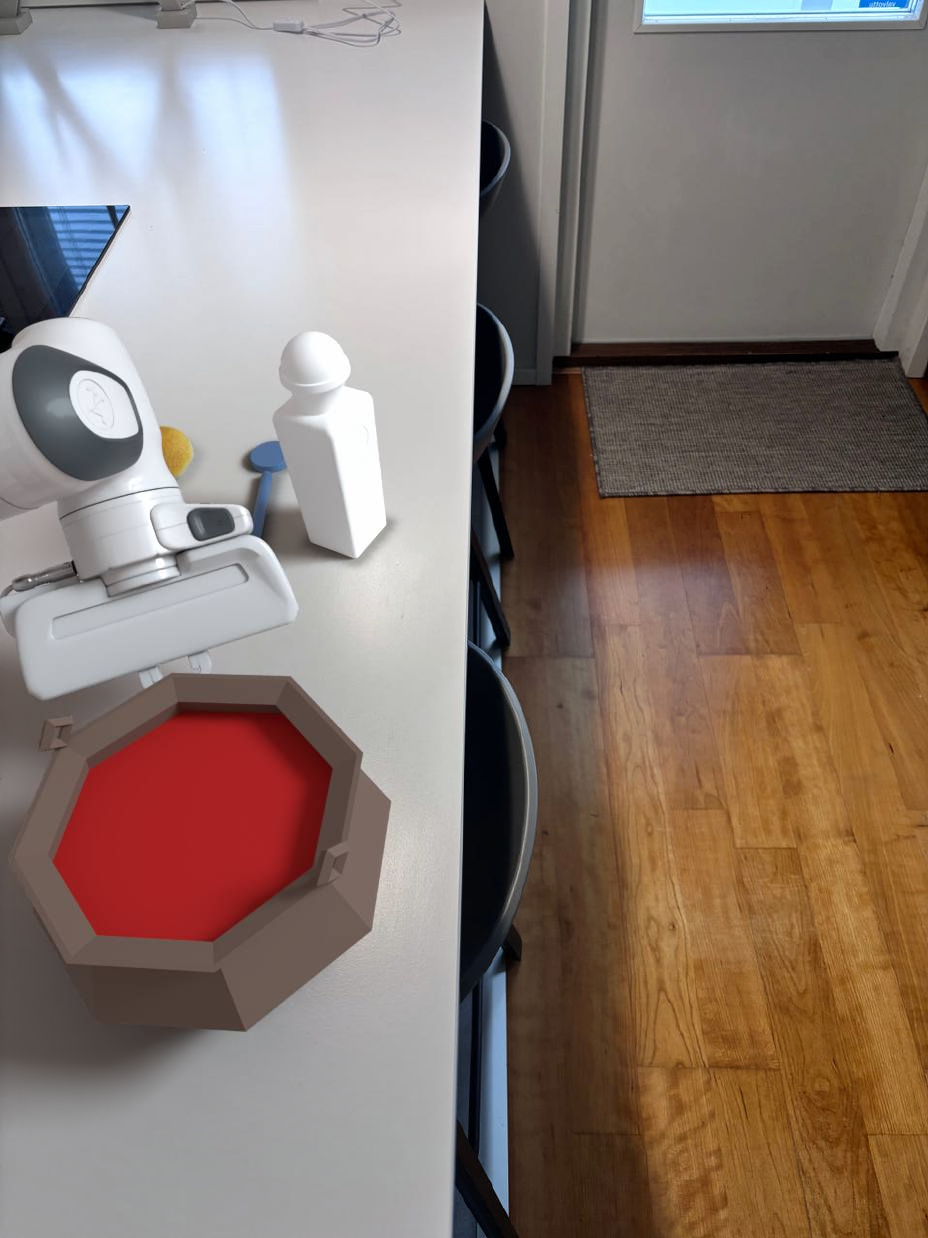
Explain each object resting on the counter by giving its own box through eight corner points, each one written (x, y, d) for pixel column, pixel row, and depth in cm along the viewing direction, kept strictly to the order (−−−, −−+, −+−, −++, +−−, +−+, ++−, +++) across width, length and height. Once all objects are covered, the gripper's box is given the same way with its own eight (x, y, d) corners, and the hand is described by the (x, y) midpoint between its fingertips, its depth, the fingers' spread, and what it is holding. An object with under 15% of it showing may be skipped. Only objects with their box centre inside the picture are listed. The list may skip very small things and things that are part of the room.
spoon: (272, 572, 91) (270, 563, 90) (227, 575, 91) (224, 566, 90) (294, 446, 104) (292, 437, 103) (254, 448, 104) (252, 439, 103)
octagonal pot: (1, 979, 66) (-123, 869, 54) (211, 720, 79) (151, 586, 67) (286, 1152, 58) (217, 1069, 45) (466, 830, 71) (450, 700, 59)
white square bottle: (357, 564, 91) (317, 366, 74) (302, 544, 93) (251, 347, 77) (394, 522, 94) (362, 325, 78) (340, 503, 97) (298, 308, 80)
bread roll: (201, 477, 101) (191, 447, 98) (116, 499, 99) (103, 470, 96) (189, 433, 106) (179, 403, 103) (108, 454, 105) (96, 424, 102)
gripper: (-23, 584, 66) (43, 772, 67) (265, 500, 69) (323, 679, 71) (1, 585, 72) (61, 757, 73) (264, 508, 76) (318, 673, 77)
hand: (192, 718), depth 72 cm, fingers closed
